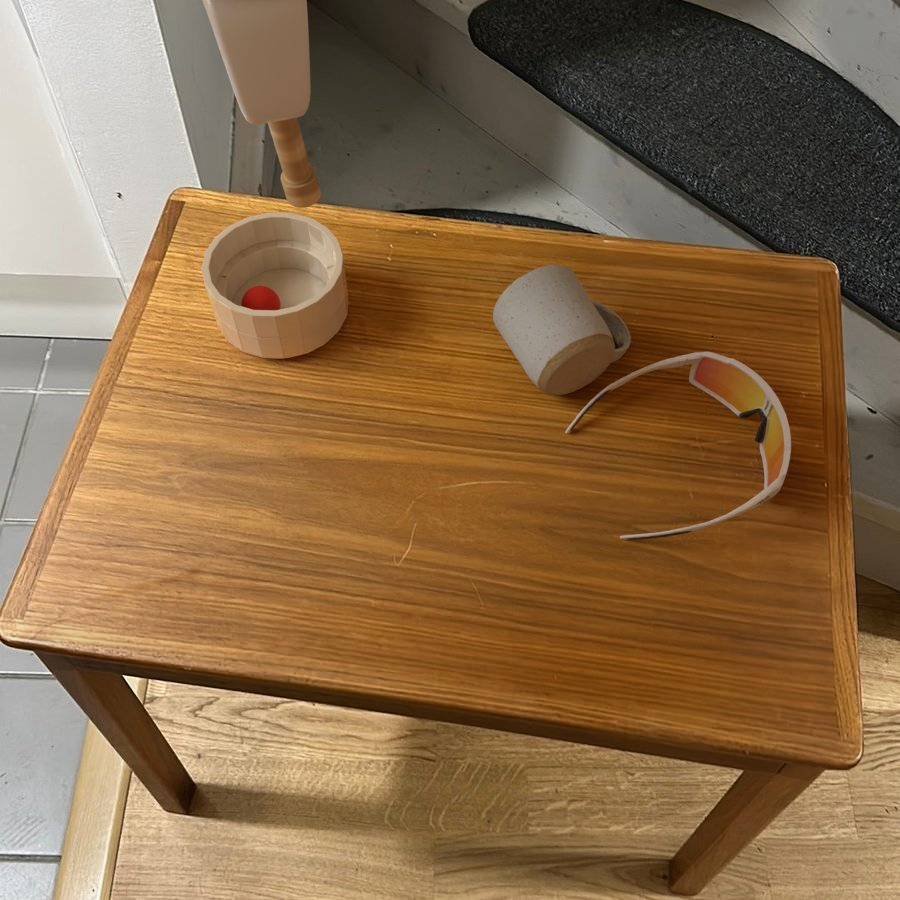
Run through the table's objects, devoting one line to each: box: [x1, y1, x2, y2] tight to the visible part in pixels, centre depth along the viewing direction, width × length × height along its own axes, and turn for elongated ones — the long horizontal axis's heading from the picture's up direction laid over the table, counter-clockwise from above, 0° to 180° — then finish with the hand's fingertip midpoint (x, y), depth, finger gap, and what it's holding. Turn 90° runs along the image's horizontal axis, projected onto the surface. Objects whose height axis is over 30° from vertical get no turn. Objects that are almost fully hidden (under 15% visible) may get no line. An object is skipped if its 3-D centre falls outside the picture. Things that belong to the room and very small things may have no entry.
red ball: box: [241, 286, 281, 310], centre depth 77 cm, size 3×3×3 cm
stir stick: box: [267, 117, 322, 209], centre depth 60 cm, size 3×3×20 cm
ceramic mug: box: [492, 264, 632, 396], centre depth 74 cm, size 11×8×8 cm
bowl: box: [201, 211, 350, 359], centre depth 77 cm, size 11×11×6 cm
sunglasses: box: [564, 351, 792, 541], centre depth 70 cm, size 14×15×5 cm
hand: (259, 90), depth 60 cm, fingers closed on stir stick, 2 cm apart
